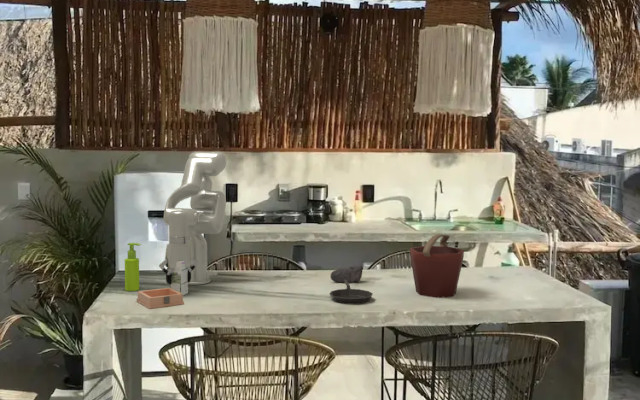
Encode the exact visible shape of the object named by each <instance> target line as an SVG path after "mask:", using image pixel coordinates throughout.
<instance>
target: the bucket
mask: <svg viewBox="0 0 640 400" xmlns="http://www.w3.org/2000/svg"><path fill="white" fill-rule="evenodd" d="M450 237H451V235H449V234H443V233H441V234H440V233H439V234H434V235H432V236H431V238H429V240H428V241H427V243H425V244H424V245H422V246H416V247H410V248H409V257H410V262H411V268H412V275H413V281H414V287H415V291H416V293H417V294H418V295H419V296H423V297H428V298H429V297H430V298H451V297H454V296H455V295H456V293H457V289H458V288H457V287H458V283H459V280H460V275H461V270H462V266H463V260H464V257H465V253H464V250H465V249H462V248H457V247H456V248H455V247H451V246H449V245H448V241H449V239H450ZM439 238H441V239H440V241H439V245H438V246H437V245H435V244H436V242H437V241H438V240H439Z"/></svg>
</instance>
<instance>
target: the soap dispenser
mask: <svg viewBox="0 0 640 400" xmlns="http://www.w3.org/2000/svg"><path fill="white" fill-rule="evenodd" d="M141 245H142V244H141V243H139V242H128V243H127V246H129V250H127V258H124V290H125V291H127V292H135V291H136V292H137V291H140V258H137V251H136V250H135V249H134V248H135V247H134V246H141Z"/></svg>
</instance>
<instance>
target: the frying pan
mask: <svg viewBox="0 0 640 400" xmlns="http://www.w3.org/2000/svg"><path fill="white" fill-rule="evenodd" d="M343 280H344V282H345V283H344V284H345V286H346V288H344V289H343V288H341V289H335V290H331V291H330V292H329V296H330V297H331V298H332V299H333V301H335V302H336V303H341V304H351V305H356V304H358V305H359V304H364V303H368V302H369V300H370V299H371V298H372V297H373V294H374V293H373V292H371V291H369V290H366V289H365V290H364V289H359V288H357V289H356V288H351V285H350V283H348V281H347V280H346V279H343Z"/></svg>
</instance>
